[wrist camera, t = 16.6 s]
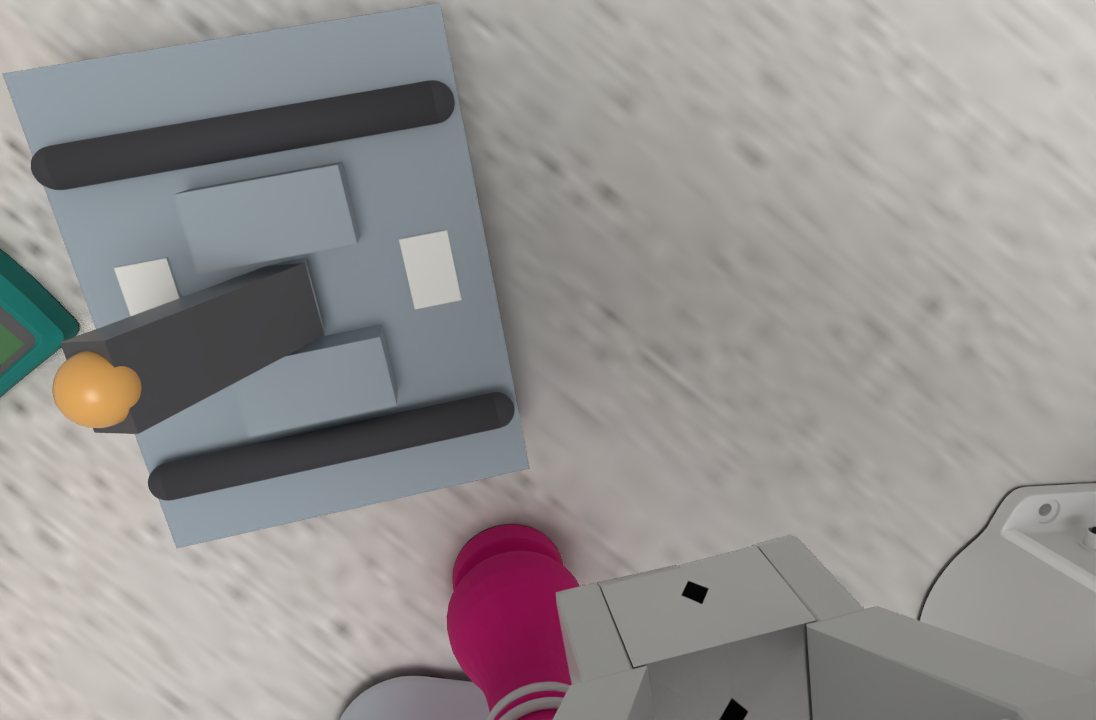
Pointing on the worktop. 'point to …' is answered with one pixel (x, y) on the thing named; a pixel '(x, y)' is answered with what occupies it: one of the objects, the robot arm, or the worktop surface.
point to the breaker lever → (186, 349)
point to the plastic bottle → (419, 700)
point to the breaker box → (295, 254)
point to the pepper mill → (511, 621)
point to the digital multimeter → (27, 323)
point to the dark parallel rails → (254, 138)
